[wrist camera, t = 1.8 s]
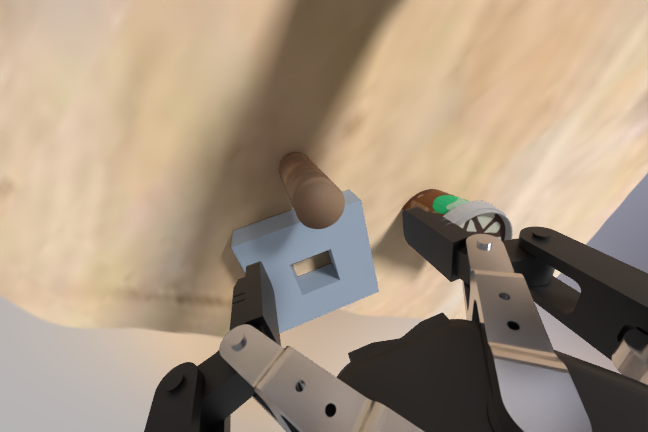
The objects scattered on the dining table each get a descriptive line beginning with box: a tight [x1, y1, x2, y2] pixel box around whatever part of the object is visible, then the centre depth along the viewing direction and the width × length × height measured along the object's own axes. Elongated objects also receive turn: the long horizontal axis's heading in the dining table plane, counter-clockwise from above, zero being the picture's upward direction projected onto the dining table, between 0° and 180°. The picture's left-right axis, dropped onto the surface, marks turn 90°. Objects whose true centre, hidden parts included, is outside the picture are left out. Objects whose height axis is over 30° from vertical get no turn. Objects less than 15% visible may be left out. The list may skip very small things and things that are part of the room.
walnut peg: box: [279, 152, 345, 229], centre depth 24 cm, size 4×4×12 cm
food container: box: [403, 189, 512, 241], centre depth 33 cm, size 12×6×10 cm, turn 61°
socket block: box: [231, 190, 379, 333], centre depth 33 cm, size 16×16×4 cm
